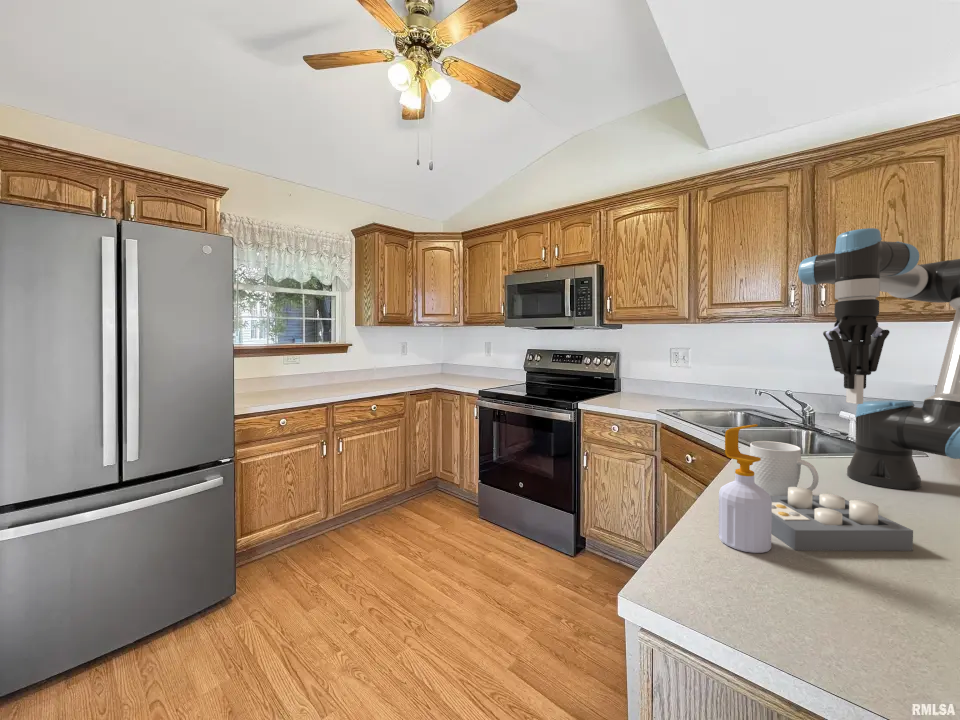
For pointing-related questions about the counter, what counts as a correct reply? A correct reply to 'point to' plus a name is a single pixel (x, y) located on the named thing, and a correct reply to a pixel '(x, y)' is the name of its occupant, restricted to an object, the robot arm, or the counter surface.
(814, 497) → the button board
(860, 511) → the button
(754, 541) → the soap bottle
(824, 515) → the button
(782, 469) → the mug
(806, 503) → the button
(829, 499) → the button
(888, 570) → the counter surface
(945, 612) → the counter surface
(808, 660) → the counter surface
